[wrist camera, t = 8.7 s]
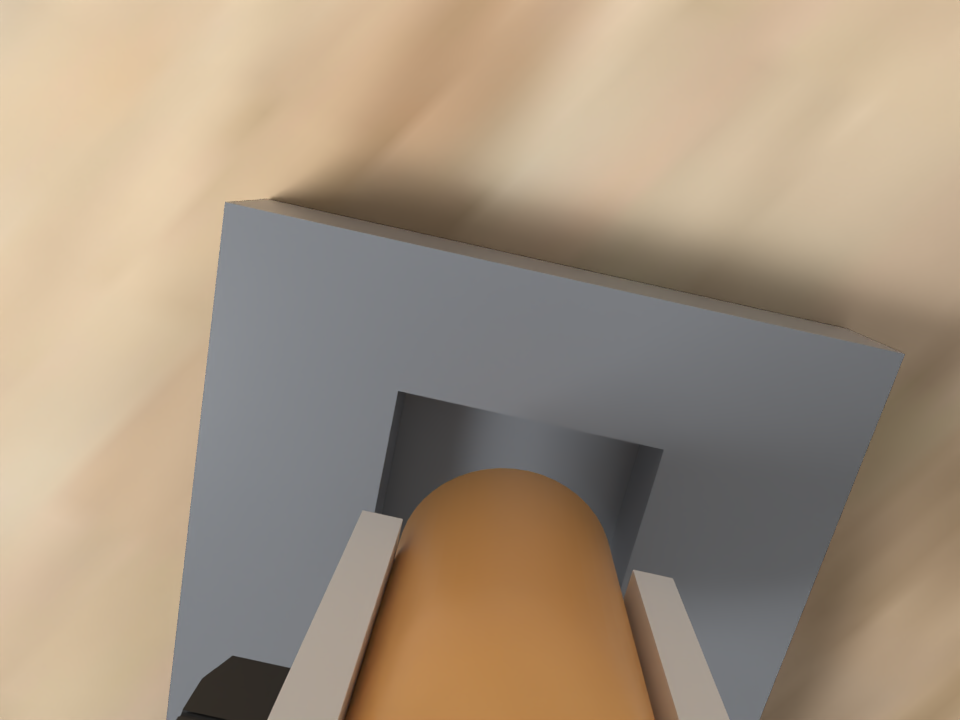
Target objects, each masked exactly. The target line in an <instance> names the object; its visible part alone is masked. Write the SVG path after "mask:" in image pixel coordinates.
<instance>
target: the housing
mask: <svg viewBox="0 0 960 720" xmlns="http://www.w3.org/2000/svg"><path fill="white" fill-rule="evenodd" d="M904 355H905V354H904V353H902V352H899V351H897V350H895V349H892V348H890V347H888V346H886V345H883V344H881V343H879V342H877V341H874V340H872V339H870V338H867V337H865V336H863V335H861V334H858V333H856V332H854V331H851V330H849V329H846V328H842V327H837V326H833V325H828V324H824V323H819V322H815V321H810V320H806V319H801V318H797V317H792V316H788V315H784V314H779V313H775V312H770V311H766V310H761V309H757V308H752V307H748V306H743V305H739V304H734V303H730V302H725V301H721V300H717V299H712V298H708V297H703V296H699V295H694V294H690V293H685V292H681V291H676V290H672V289H667V288H663V287H658V286H654V285H650V284H645V283H641V282H636V281H632V280H627V279H623V278H618V277H614V276H609V275H605V274H600V273H596V272H591V271H587V270H582V269H578V268H574V267H569V266H565V265H560V264H556V263H551V262H547V261H542V260H538V259H533V258H529V257H524V256H520V255H515V254H511V253H507V252H502V251H498V250H493V249H489V248H484V247H480V246H475V245H471V244H466V243H462V242H457V241H453V240H448V239H444V238H440V237H435V236H431V235H426V234H422V233H417V232H413V231H408V230H404V229H399V228H395V227H390V226H386V225H381V224H377V223H373V222H368V221H364V220H359V219H355V218H350V217H346V216H341V215H337V214H332V213H328V212H323V211H319V210H314V209H310V208H305V207H301V206H297V205H292V204H288V203H283V202H279V201H274V200H270V199H260V200H246V201H232V202H225V208H224V217H223V225H222V234H221V243H220V252H219V261H218V270H217V278H216V287H215V296H214V305H213V314H212V322H211V331H210V340H209V349H208V358H207V366H206V375H205V384H204V393H203V402H202V411H201V419H200V428H199V437H198V446H197V455H196V463H195V472H194V481H193V490H192V499H191V507H190V516H189V525H188V534H187V543H186V551H185V560H184V569H183V578H182V587H181V596H180V604H179V613H178V622H177V631H176V640H175V648H174V657H173V666H172V675H171V684H170V692H169V701H168V710H167V719H166V720H176V719H177V718H178V716H180V715H181V713H182V710H183V708H184V706H185V705H186V703H187V702H188V700H189V698H190V697H191V695H192V694H193V692H194V690H195V689H196V687H197V686H198V684H199V682H200V681H201V679H202V678H203V677H205V676H206V675H207V674H209V673H210V672H211V671H213V670H214V669H215V668H217V667H218V666H219V665H221V664H222V663H223V662H225V661H226V660H227V659H229V658H230V657H231V656H237V657H242V658H247V659H251V660H256V661H261V662H265V663H270V664H274V665H279V666H284V667H288V668H291V666H292V664H293V662H294V660H295V658H296V655H297V653H298V651H299V649H300V647H301V645H302V642H303V640H304V638H305V636H306V634H307V631H308V629H309V627H310V625H311V623H312V620H313V618H314V616H315V614H316V612H317V609H318V607H319V605H320V603H321V601H322V598H323V596H324V594H325V592H326V590H327V587H328V585H329V583H330V581H331V579H332V576H333V574H334V572H335V570H336V568H337V565H338V563H339V561H340V559H341V557H342V555H343V552H344V550H345V548H346V546H347V544H348V541H349V539H350V537H351V535H352V533H353V530H354V528H355V526H356V524H357V522H358V519H359V517H360V515H361V513H362V511H363V510H364V511H369V512H373V513H378V514H382V515H387V516H392V517H396V518H401V519H403V521H402V526H401V531H400V536H399V540H398V544H399V541H400V538H401V535H402V532H403V530H404V527H405V525H406V523H407V521H408V519H409V518H410V516H411V514H412V513H413V511H414V510H415V509H416V507H417V506H418V505H419V504H420V503H421V502H422V500H423V499H424V498H426V497H427V496H428V495H429V494H430V493H431V492H432V491H434V490H435V489H437V488H438V487H440V486H441V485H443V484H444V483H446V482H448V481H450V480H452V479H454V478H456V477H458V476H461V475H464V474H467V473H470V472H474V471H479V470H484V469H495V468H510V469H519V470H526V471H530V472H534V473H537V474H541V475H544V476H546V477H548V478H551V479H553V480H555V481H557V482H559V483H561V484H562V485H564V486H566V487H567V488H569V489H570V490H571V491H573V492H574V493H575V494H577V495H578V496H579V497H580V498H581V499H582V500H583V501H584V502H585V503H586V504H587V505H588V506H589V507H590V508H591V510H592V511H593V512H594V514H595V515H596V516H597V518H598V520H599V522H600V523H601V525H602V527H603V529H604V532H605V534H606V537H607V539H608V543H609V547H610V550H611V554H612V558H613V562H614V566H615V569H616V573H617V577H618V581H619V585H620V588H621V592H622V596H623V600H624V596H625V593H626V590H627V587H628V584H629V581H630V577H631V574H632V571H633V570H637V571H642V572H647V573H651V574H656V575H660V576H665V577H669V578H673V580H674V582H675V585H676V587H677V590H678V592H679V595H680V597H681V600H682V602H683V605H684V607H685V610H686V612H687V615H688V617H689V620H690V622H691V625H692V627H693V630H694V632H695V635H696V637H697V640H698V642H699V645H700V647H701V650H702V652H703V655H704V657H705V660H706V662H707V665H708V667H709V670H710V672H711V675H712V677H713V680H714V682H715V685H716V687H717V690H718V692H719V695H720V697H721V700H722V702H723V705H724V707H725V710H726V712H727V715H728V717H729V719H730V720H760V717H761V715H762V712H763V710H764V707H765V704H766V702H767V699H768V697H769V694H770V692H771V689H772V687H773V684H774V682H775V679H776V677H777V674H778V672H779V669H780V667H781V664H782V662H783V659H784V657H785V654H786V652H787V649H788V647H789V644H790V642H791V639H792V637H793V634H794V632H795V629H796V627H797V624H798V622H799V619H800V617H801V614H802V612H803V609H804V607H805V604H806V602H807V599H808V596H809V594H810V591H811V589H812V586H813V584H814V581H815V579H816V576H817V574H818V571H819V569H820V566H821V564H822V561H823V559H824V556H825V554H826V551H827V549H828V546H829V544H830V541H831V539H832V536H833V534H834V531H835V529H836V526H837V524H838V521H839V519H840V516H841V514H842V511H843V509H844V506H845V504H846V501H847V499H848V496H849V493H850V491H851V488H852V486H853V483H854V481H855V478H856V476H857V473H858V471H859V468H860V466H861V463H862V461H863V458H864V456H865V453H866V451H867V448H868V446H869V443H870V441H871V438H872V436H873V433H874V431H875V428H876V426H877V423H878V421H879V418H880V416H881V413H882V411H883V408H884V406H885V403H886V401H887V398H888V396H889V393H890V391H891V388H892V385H893V383H894V380H895V378H896V375H897V373H898V370H899V368H900V365H901V363H902V360H903V358H904ZM397 548H398V545H397ZM396 551H397V550H396Z"/></svg>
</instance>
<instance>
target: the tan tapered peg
mask: <svg viewBox="0 0 960 720" xmlns="http://www.w3.org/2000/svg"><path fill="white" fill-rule="evenodd" d="M345 720H655V718H654V714H653V710H652V706H651V703H650V699H649V695H648V691H647V687H646V684H645V680H644V676H643V672H642V668H641V665H640V661H639V657H638V653H637V649H636V646H635V642H634V638H633V634H632V630H631V626H630V623H629V619H628V615H627V611H626V607H625V604H624V600H623V596H622V592H621V588H620V585H619V581H618V577H617V573H616V569H615V566H614V562H613V558H612V554H611V550H610V547H609V543H608V539H607V537H606V534H605V532H604V529H603V527H602V525H601V523H600V522H599V520H598V518H597V516H596V515H595V514H594V512H593V511H592V510H591V508H590V507H589V506H588V505H587V504H586V503H585V502H584V501H583V500H582V499H581V498H580V497H579V496H578V495H577V494H575V493H574V492H573V491H571V490H570V489H569V488H567V487H566V486H564V485H562V484H561V483H559V482H557V481H555V480H553V479H551V478H548V477H546V476H544V475H541V474H537V473H534V472H530V471H526V470H519V469H510V468H495V469H484V470H479V471H474V472H470V473H467V474H464V475H461V476H458V477H456V478H454V479H452V480H450V481H448V482H446V483H444V484H443V485H441V486H440V487H438V488H437V489H435V490H434V491H432V492H431V493H430V494H429V495H428V496H427V497H426V498H424V499H423V500H422V502H421V503H420V504H419V505H418V506H417V507H416V509H415V510H414V511H413V513H412V514H411V516H410V518H409V519H408V521H407V523H406V525H405V527H404V530H403V532H402V535H401V538H400V541H399V544H398V548H397V551H396V555H395V560H394V563H393V566H392V569H391V573H390V576H389V579H388V582H387V585H386V589H385V592H384V595H383V598H382V601H381V605H380V608H379V611H378V614H377V617H376V621H375V624H374V627H373V630H372V633H371V637H370V640H369V643H368V646H367V649H366V653H365V656H364V659H363V662H362V665H361V669H360V672H359V675H358V678H357V681H356V685H355V688H354V691H353V694H352V697H351V701H350V704H349V707H348V710H347V713H346V717H345Z"/></svg>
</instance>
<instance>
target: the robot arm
mask: <svg viewBox="0 0 960 720" xmlns="http://www.w3.org/2000/svg"><path fill="white" fill-rule="evenodd" d="M402 521H403V519H401V518H396V517H392V516H387V515H382V514H378V513H373V512H369V511H364V510H363V511H362V513H361V515H360V517H359V519H358V522H357V524H356V526H355V528H354V530H353V533H352V535H351V537H350V539H349V541H348V544H347V546H346V548H345V550H344V552H343V555H342V557H341V559H340V561H339V563H338V565H337V568H336V570H335V572H334V574H333V576H332V579H331V581H330V583H329V585H328V587H327V590H326V592H325V594H324V596H323V598H322V601H321V603H320V605H319V607H318V609H317V612H316V614H315V616H314V618H313V620H312V623H311V625H310V627H309V629H308V631H307V634H306V636H305V638H304V640H303V642H302V645H301V647H300V649H299V651H298V653H297V655H296V658H295V660H294V662H293V664H292V666H291V668H288V667H284V666H279V665H274V664H270V663H265V662H261V661H256V660H251V659H247V658H242V657H237V656H231V657H230V658H229V659H227V660H226V661H225V662H223V663H222V664H221V665H219V666H218V667H217V668H215V669H214V670H213V671H211V672H210V673H209V674H207V675H206V676H205V677H203V678H202V679H201V681H200V682H199V684H198V686H197V687H196V689H195V690H194V692H193V694H192V695H191V697H190V698H189V700H188V702H187V703H186V705H185V706H184V708H183V710H182V713H181V715H180V716H178V718H177V719H176V720H345V717H346V713H347V710H348V707H349V704H350V701H351V697H352V694H353V691H354V688H355V685H356V681H357V678H358V675H359V672H360V669H361V665H362V662H363V659H364V656H365V653H366V649H367V646H368V643H369V640H370V637H371V633H372V630H373V627H374V624H375V621H376V617H377V614H378V611H379V608H380V605H381V601H382V598H383V595H384V592H385V589H386V585H387V582H388V579H389V576H390V573H391V569H392V566H393V563H394V560H395V555H396V550H397V545H398V540H399V536H400V531H401V526H402ZM624 604H625V607H626V611H627V615H628V619H629V623H630V626H631V630H632V634H633V638H634V642H635V646H636V649H637V653H638V657H639V661H640V665H641V668H642V672H643V676H644V680H645V684H646V687H647V691H648V695H649V699H650V703H651V706H652V710H653V714H654V718H655V720H730V719H729V717H728V715H727V712H726V710H725V707H724V705H723V702H722V700H721V697H720V695H719V692H718V690H717V687H716V685H715V682H714V680H713V677H712V675H711V672H710V670H709V667H708V665H707V662H706V660H705V657H704V655H703V652H702V650H701V647H700V645H699V642H698V640H697V637H696V635H695V632H694V630H693V627H692V625H691V622H690V620H689V617H688V615H687V612H686V610H685V607H684V605H683V602H682V600H681V597H680V595H679V592H678V590H677V587H676V585H675V582H674V580H673V578H669V577H665V576H660V575H656V574H651V573H647V572H642V571H637V570H633V571H632V574H631V577H630V581H629V584H628V587H627V590H626V593H625V596H624Z"/></svg>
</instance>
